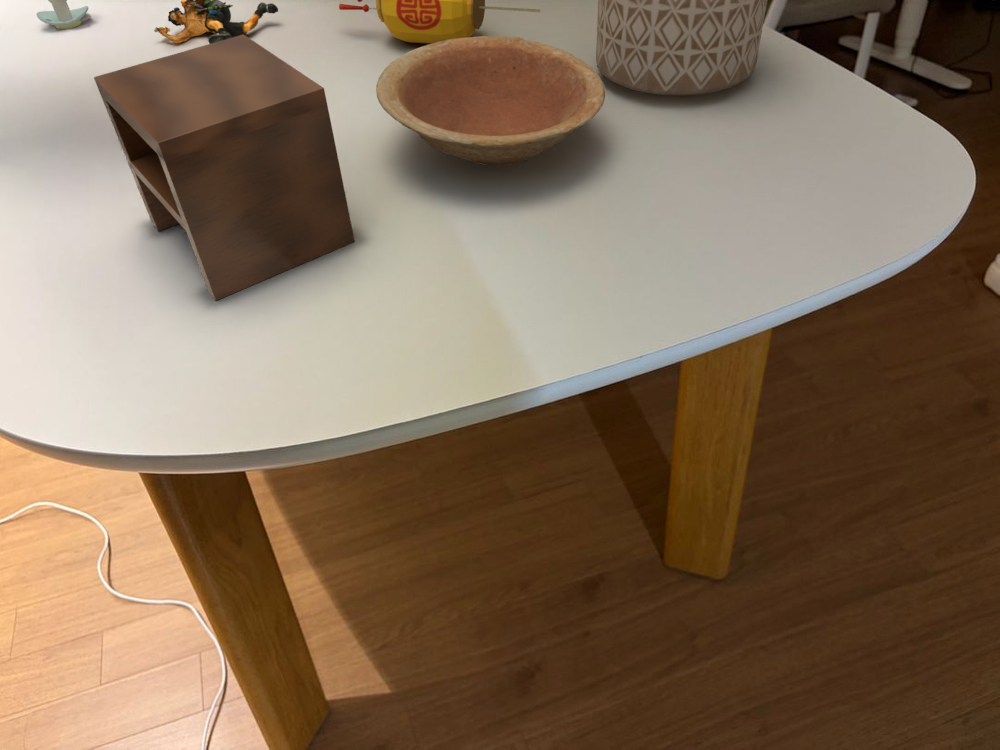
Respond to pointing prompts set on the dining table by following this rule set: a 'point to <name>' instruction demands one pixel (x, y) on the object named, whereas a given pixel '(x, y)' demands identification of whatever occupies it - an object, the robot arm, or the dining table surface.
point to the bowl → (490, 96)
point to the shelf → (232, 158)
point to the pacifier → (64, 15)
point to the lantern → (430, 18)
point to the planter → (678, 43)
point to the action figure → (210, 20)
